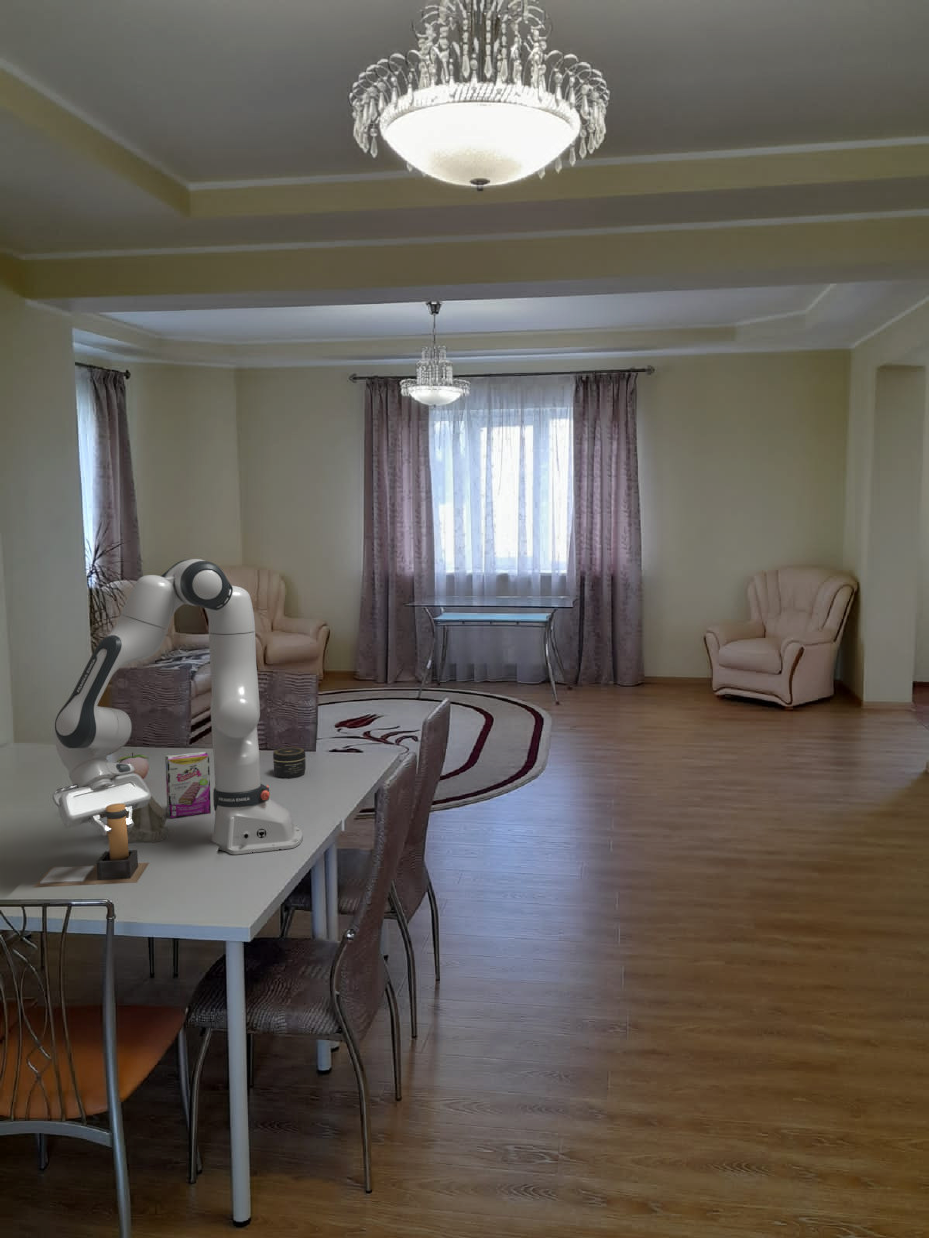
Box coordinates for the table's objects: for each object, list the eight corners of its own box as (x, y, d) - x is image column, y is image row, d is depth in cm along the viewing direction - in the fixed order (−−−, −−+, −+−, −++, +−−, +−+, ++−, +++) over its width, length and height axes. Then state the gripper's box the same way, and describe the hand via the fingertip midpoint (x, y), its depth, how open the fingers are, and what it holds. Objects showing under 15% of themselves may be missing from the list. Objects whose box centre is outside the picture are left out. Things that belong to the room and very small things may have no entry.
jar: (311, 775, 303) (310, 751, 302) (281, 781, 297) (280, 756, 297) (297, 768, 311) (297, 745, 310) (268, 774, 306) (267, 750, 305)
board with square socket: (149, 868, 226) (148, 845, 225) (137, 888, 214) (135, 864, 213) (51, 873, 224) (49, 850, 223) (33, 893, 212) (31, 869, 211)
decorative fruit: (124, 790, 289) (123, 757, 288) (114, 785, 295) (112, 753, 294) (155, 784, 295) (153, 752, 294) (144, 779, 301) (142, 747, 300)
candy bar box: (169, 819, 262) (166, 759, 260) (167, 814, 266) (164, 755, 265) (212, 813, 267) (209, 754, 265) (208, 808, 271) (206, 750, 269)
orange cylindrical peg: (131, 854, 221) (127, 802, 220) (126, 860, 217) (122, 808, 216) (112, 855, 221) (108, 803, 219) (107, 861, 217) (103, 809, 215)
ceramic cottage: (158, 843, 243) (154, 783, 242) (96, 843, 245) (93, 784, 244) (185, 827, 258) (182, 770, 257) (127, 827, 261) (124, 771, 260)
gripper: (53, 782, 214) (77, 835, 208) (138, 762, 229) (164, 810, 223) (45, 799, 217) (69, 850, 212) (130, 777, 232) (155, 825, 227)
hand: (118, 830), depth 218 cm, fingers closed on orange cylindrical peg, 4 cm apart
